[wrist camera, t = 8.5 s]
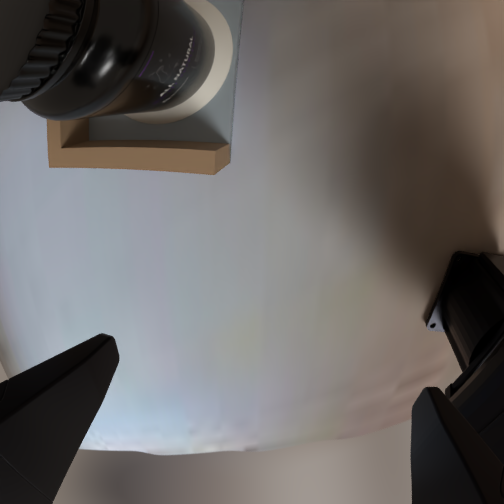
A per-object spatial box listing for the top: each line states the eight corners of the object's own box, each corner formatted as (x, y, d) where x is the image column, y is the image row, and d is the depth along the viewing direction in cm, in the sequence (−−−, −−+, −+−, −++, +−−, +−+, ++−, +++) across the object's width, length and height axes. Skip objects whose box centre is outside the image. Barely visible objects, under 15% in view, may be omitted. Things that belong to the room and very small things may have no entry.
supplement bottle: (225, 100, 16) (89, 100, 5) (120, 121, 17) (-46, 166, 6) (212, -7, 13) (92, -113, 2) (110, 24, 14) (-48, 0, 4)
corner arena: (230, 162, 18) (214, 175, 15) (81, 156, 19) (49, 167, 16) (244, -12, 13) (231, -34, 10) (88, 10, 14) (56, 2, 11)
